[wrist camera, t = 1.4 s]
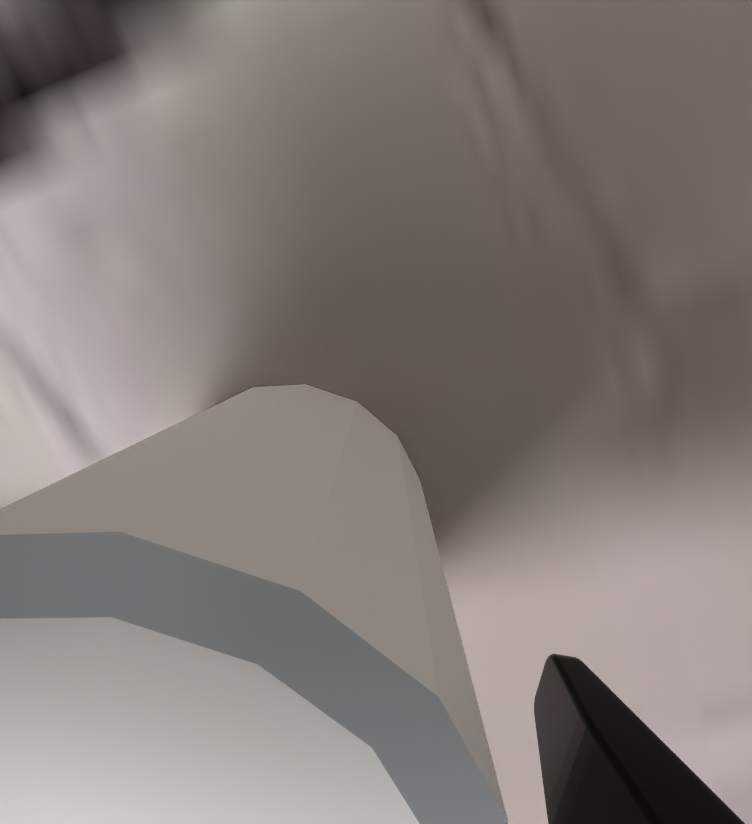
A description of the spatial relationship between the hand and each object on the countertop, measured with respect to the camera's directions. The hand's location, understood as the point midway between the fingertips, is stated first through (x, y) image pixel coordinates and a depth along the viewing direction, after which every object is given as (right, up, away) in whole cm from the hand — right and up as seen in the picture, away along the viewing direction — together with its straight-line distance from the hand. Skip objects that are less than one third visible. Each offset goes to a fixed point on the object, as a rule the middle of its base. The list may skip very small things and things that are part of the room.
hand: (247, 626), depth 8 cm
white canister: (0, +1, +4) cm, 4 cm away
